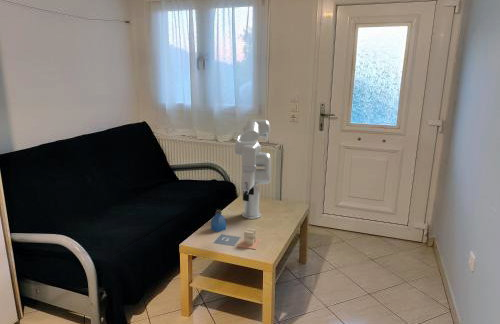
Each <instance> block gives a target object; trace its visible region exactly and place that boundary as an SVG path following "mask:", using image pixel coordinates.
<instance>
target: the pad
mask: <svg viewBox="0 0 500 324" xmlns="http://www.w3.org/2000/svg"><path fill="white" fill-rule="evenodd" d="M261 241H262V239H261V238H256V240H255V243H254V244H253V245H248V244H244V237H243V238H242V240H241V241H240V242H239V243H238V245H237V248H241V249H242V248H243V249H248V250H253V251H254V250H256V249H257V248H258V247H259V245H260V243H261Z"/></svg>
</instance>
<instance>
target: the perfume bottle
mask: <svg viewBox="0 0 500 324" xmlns="http://www.w3.org/2000/svg"><path fill="white" fill-rule="evenodd" d="M222 214H223V213H222V209H216V210H215V215H213V217H212V218H211V219H210V221H211V222H210V223H211V224H210V225H211V227H210V228H211V230H212V231H215V232H216V233H220V232H223V231H226V230H227V220H226V218H225V216H224V215H222Z"/></svg>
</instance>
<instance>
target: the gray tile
mask: <svg viewBox="0 0 500 324" xmlns="http://www.w3.org/2000/svg"><path fill="white" fill-rule="evenodd" d="M240 239H241V236H236V235H229V234H223V233H220V234H219V236H218V237H217V238H216V239H215V240H214V241H213V244H217V245H225V246H230V247H235V245H236V244H237V243H238V242H239V241H240Z"/></svg>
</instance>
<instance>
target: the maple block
mask: <svg viewBox="0 0 500 324" xmlns="http://www.w3.org/2000/svg"><path fill="white" fill-rule="evenodd" d="M256 233H257V232H256V229H254V228H246V229H245V230H244V233H243V238H244V244H248V245H253V244H254V243H255V240H256V239H257V235H256Z"/></svg>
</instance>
